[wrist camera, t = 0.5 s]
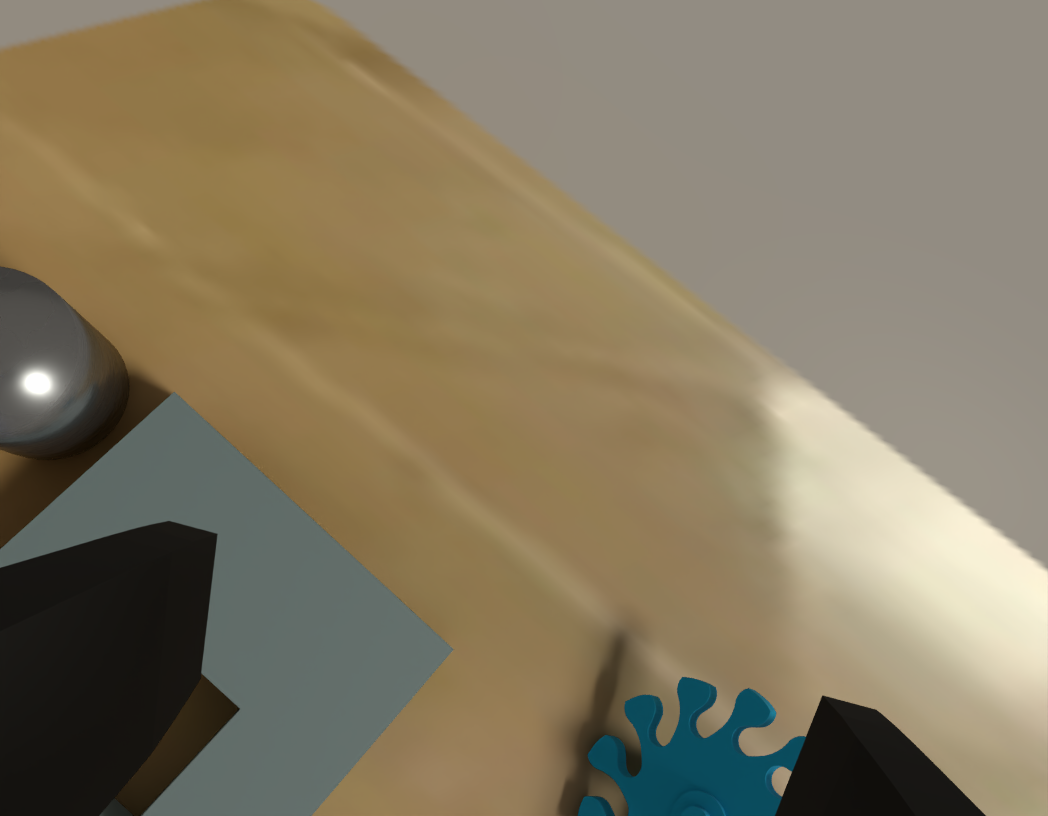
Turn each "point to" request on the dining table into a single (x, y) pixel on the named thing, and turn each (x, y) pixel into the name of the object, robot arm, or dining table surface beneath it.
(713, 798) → the teal spiky virus toy
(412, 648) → the socket plate
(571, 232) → the dining table surface
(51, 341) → the gunmetal plug
